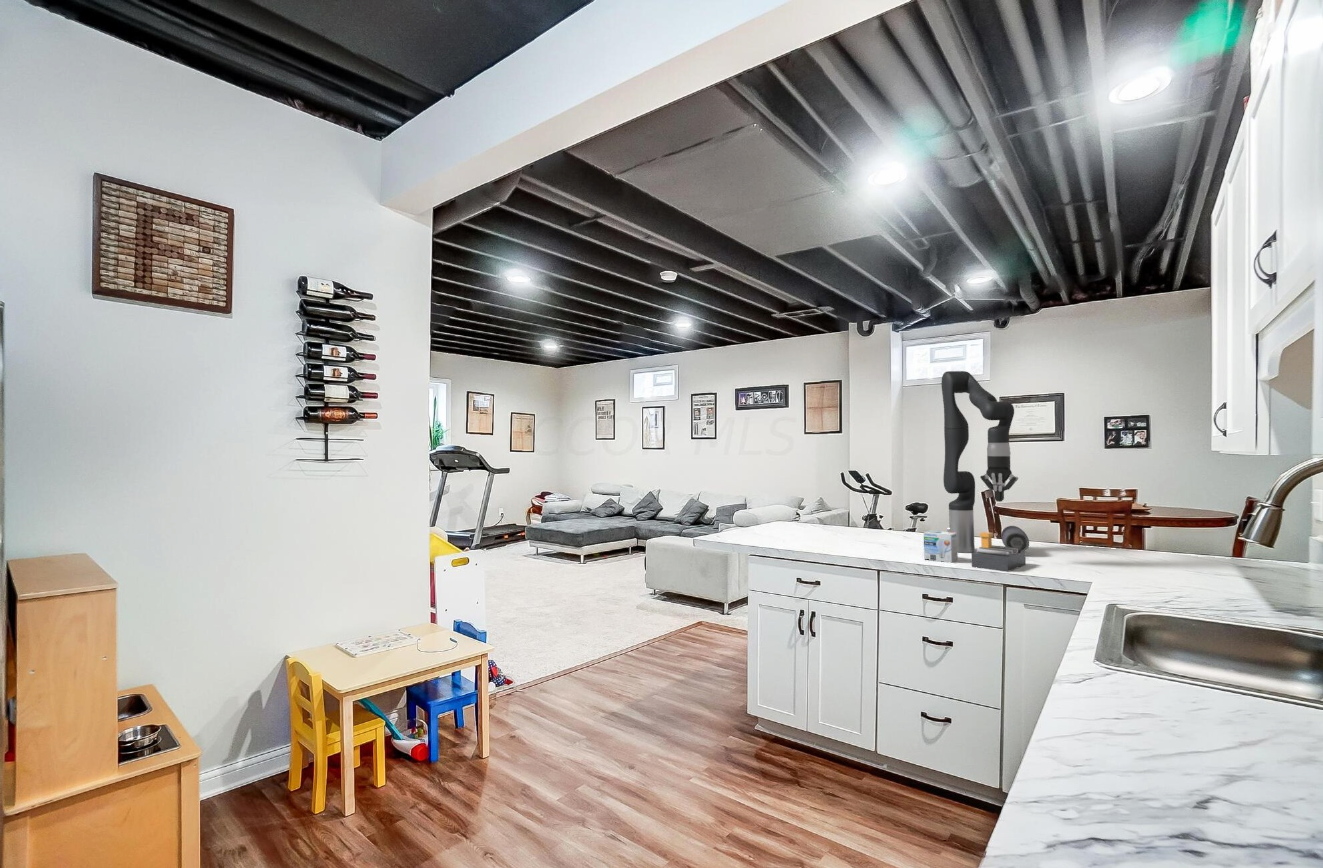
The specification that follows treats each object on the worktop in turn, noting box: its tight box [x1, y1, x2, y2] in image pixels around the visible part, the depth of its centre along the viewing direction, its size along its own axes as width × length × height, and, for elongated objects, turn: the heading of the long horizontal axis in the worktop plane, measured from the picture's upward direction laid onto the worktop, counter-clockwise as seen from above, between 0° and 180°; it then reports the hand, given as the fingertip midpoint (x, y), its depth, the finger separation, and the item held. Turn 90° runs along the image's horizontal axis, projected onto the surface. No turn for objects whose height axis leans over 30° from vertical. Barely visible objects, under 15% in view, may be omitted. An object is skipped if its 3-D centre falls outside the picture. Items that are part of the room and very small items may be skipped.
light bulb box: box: [923, 530, 959, 564], centre depth 235 cm, size 11×7×11 cm, turn 47°
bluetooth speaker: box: [1000, 525, 1030, 552], centre depth 250 cm, size 23×9×10 cm, turn 154°
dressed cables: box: [976, 544, 1021, 556], centre depth 222 cm, size 11×12×1 cm
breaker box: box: [970, 545, 1027, 572], centre depth 222 cm, size 12×17×6 cm
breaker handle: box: [978, 531, 994, 548], centre depth 225 cm, size 3×4×6 cm
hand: (999, 501), depth 227 cm, fingers closed
